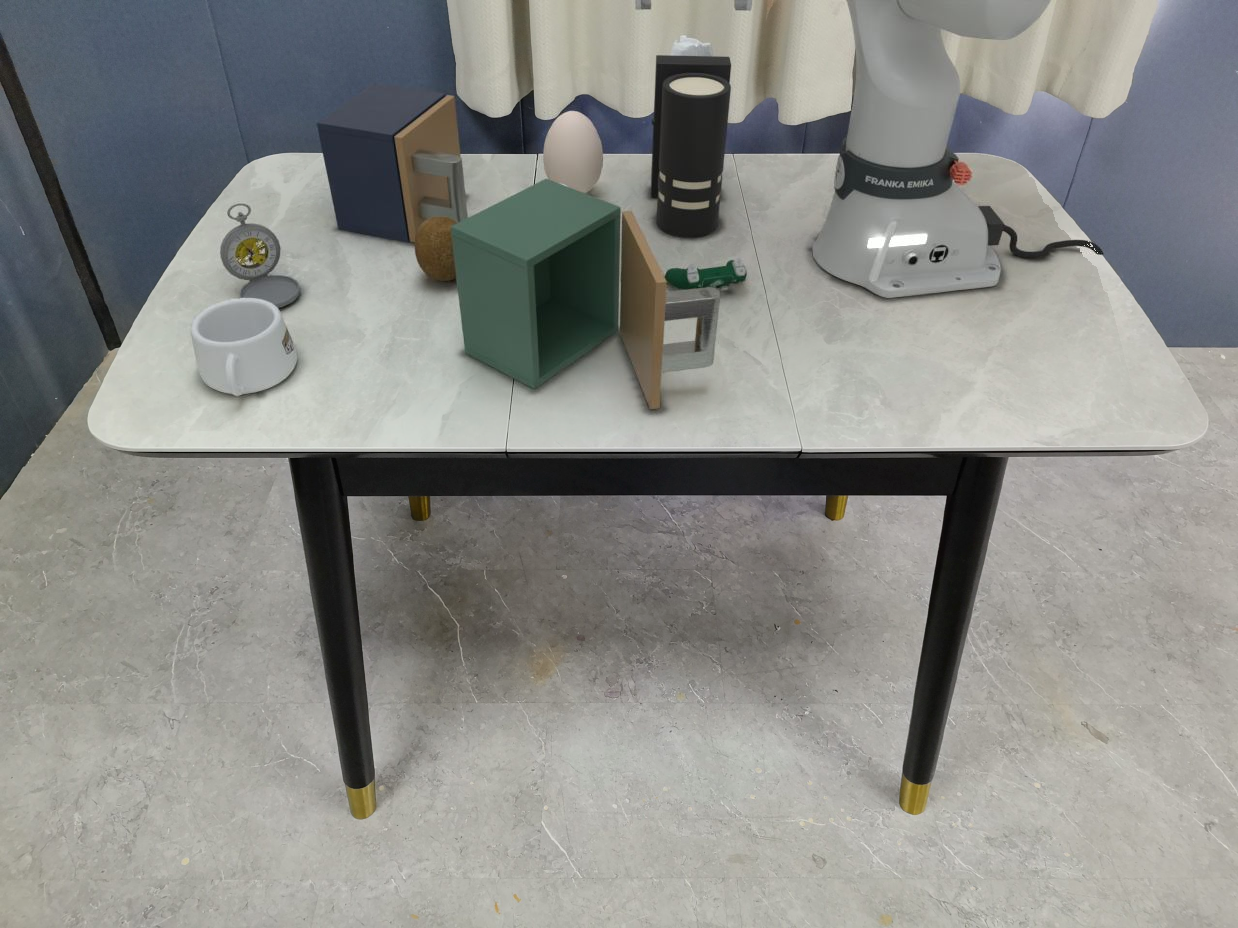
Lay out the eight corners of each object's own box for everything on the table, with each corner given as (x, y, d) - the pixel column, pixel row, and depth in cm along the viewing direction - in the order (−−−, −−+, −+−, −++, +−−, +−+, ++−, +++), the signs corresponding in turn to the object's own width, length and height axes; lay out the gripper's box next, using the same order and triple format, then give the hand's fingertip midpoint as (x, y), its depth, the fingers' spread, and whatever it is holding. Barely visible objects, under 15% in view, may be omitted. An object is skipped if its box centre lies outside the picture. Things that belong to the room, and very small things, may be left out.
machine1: (456, 195, 126) (445, 93, 117) (408, 242, 116) (391, 135, 107) (391, 184, 128) (375, 83, 119) (338, 229, 118) (316, 122, 109)
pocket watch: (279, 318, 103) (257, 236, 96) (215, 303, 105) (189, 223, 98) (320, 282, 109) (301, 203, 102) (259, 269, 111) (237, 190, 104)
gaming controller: (667, 303, 110) (681, 291, 104) (661, 272, 110) (675, 258, 104) (739, 293, 112) (757, 280, 106) (734, 262, 112) (751, 248, 106)
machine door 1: (505, 203, 124) (498, 102, 115) (460, 251, 114) (448, 145, 105) (458, 195, 126) (447, 94, 117) (409, 241, 116) (394, 136, 107)
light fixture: (650, 237, 118) (656, 96, 106) (648, 188, 128) (654, 55, 116) (726, 238, 118) (741, 98, 106) (719, 190, 128) (731, 56, 116)
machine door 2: (680, 325, 103) (689, 205, 93) (717, 401, 93) (731, 274, 83) (619, 332, 102) (621, 211, 92) (649, 409, 92) (656, 282, 82)
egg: (597, 211, 123) (597, 126, 116) (539, 206, 124) (535, 121, 116) (607, 185, 129) (608, 103, 121) (551, 180, 130) (548, 98, 122)
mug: (210, 345, 99) (194, 297, 95) (303, 339, 100) (291, 291, 96) (188, 415, 90) (169, 365, 86) (290, 408, 91) (276, 358, 87)
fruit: (469, 293, 108) (462, 230, 102) (415, 293, 107) (405, 230, 102) (474, 266, 112) (468, 204, 107) (423, 265, 112) (414, 204, 107)
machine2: (618, 331, 102) (620, 207, 92) (534, 389, 94) (526, 260, 84) (550, 299, 107) (546, 178, 97) (464, 353, 99) (450, 226, 89)
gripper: (819, -171, 81) (796, -1, 90) (585, -174, 80) (586, -3, 90) (833, -159, 76) (807, 20, 85) (585, -162, 76) (586, 18, 85)
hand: (692, 8), depth 88 cm, fingers open, 8 cm apart
